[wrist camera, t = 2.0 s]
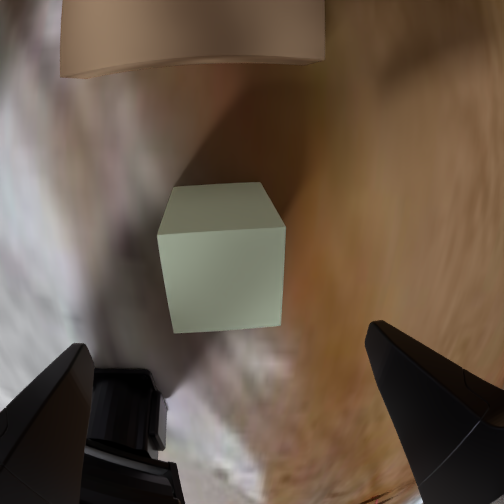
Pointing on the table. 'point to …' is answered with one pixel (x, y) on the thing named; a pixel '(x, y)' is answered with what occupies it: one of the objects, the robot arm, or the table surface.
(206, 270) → the sage block
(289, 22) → the walnut riser block
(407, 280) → the table surface
